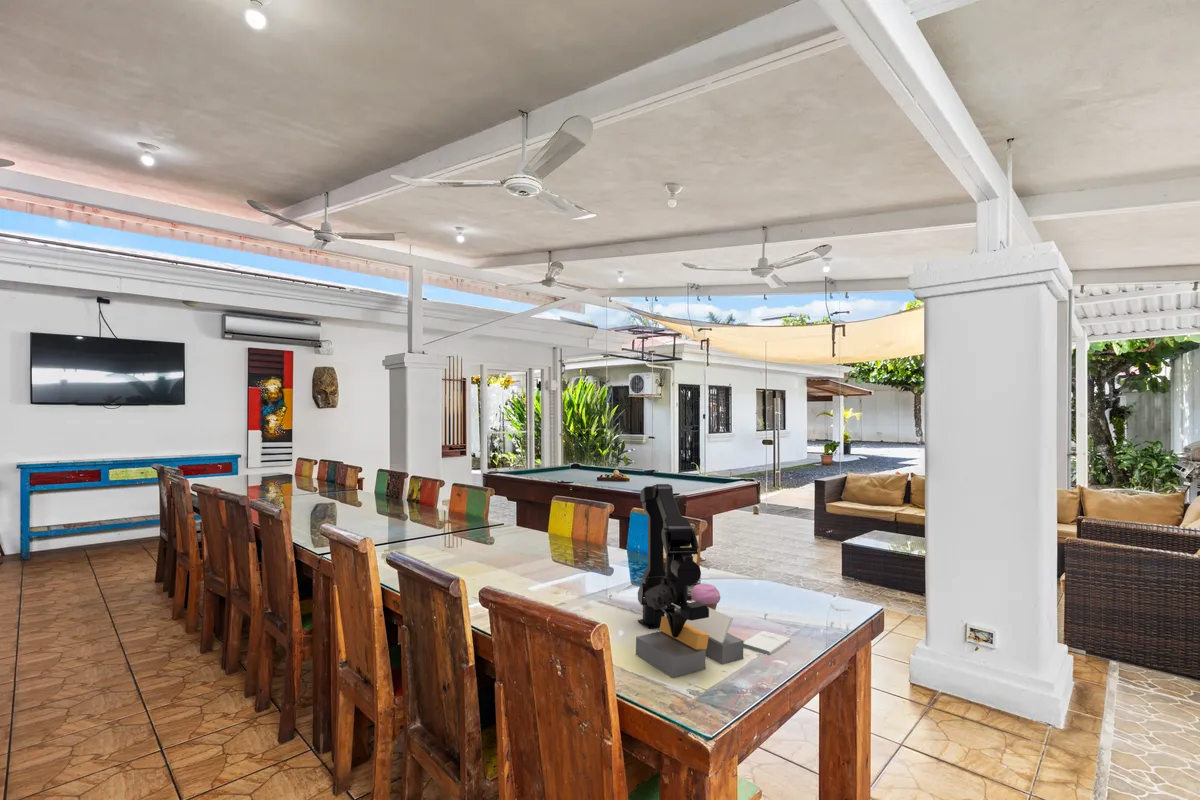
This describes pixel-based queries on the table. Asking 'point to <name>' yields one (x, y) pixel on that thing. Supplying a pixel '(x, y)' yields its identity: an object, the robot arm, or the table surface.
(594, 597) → the table surface
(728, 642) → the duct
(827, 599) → the table surface
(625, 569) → the table surface
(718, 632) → the panel
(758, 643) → the external hard drive
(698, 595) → the cupcake
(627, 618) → the table surface
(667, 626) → the orange bar
